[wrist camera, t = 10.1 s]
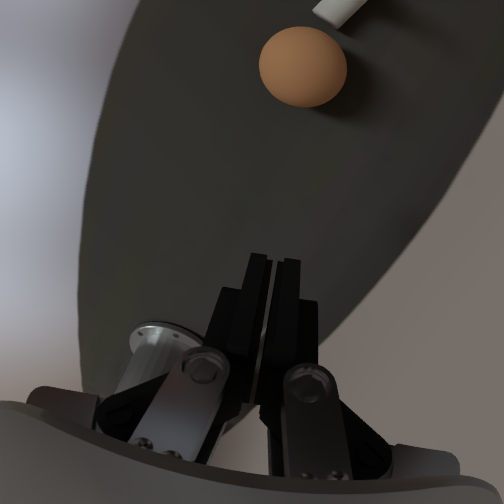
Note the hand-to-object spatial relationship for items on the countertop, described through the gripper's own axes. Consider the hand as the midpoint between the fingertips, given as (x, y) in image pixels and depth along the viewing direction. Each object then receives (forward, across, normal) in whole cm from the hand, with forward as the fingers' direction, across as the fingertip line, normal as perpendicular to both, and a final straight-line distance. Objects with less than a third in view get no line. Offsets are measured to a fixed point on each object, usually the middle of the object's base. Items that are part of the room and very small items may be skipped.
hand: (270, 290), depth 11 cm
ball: (+14, 0, -8) cm, 16 cm away
